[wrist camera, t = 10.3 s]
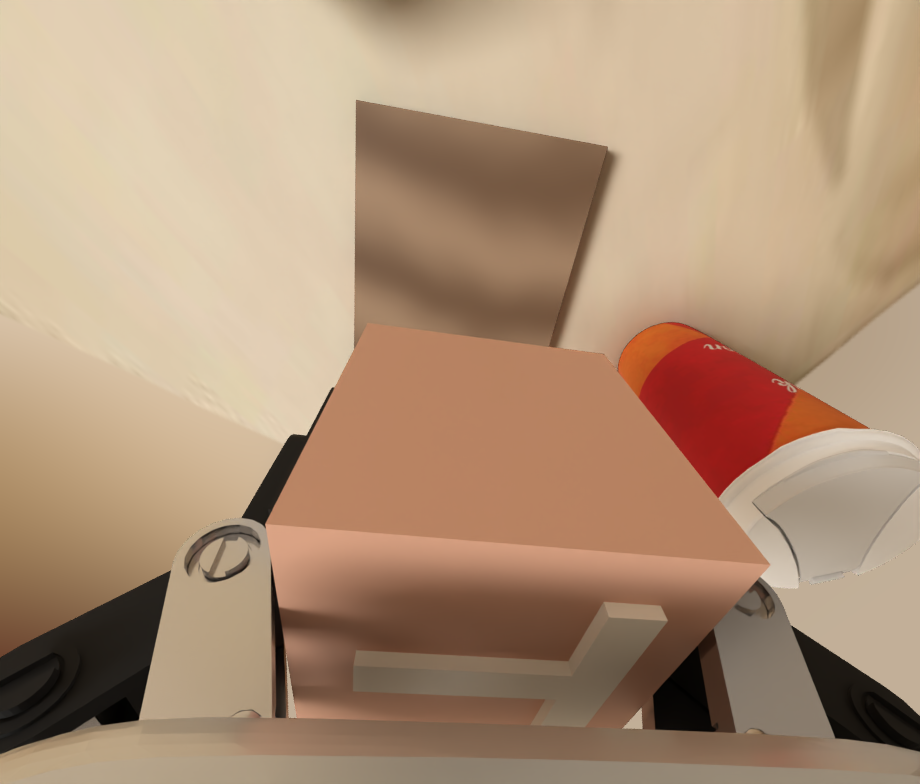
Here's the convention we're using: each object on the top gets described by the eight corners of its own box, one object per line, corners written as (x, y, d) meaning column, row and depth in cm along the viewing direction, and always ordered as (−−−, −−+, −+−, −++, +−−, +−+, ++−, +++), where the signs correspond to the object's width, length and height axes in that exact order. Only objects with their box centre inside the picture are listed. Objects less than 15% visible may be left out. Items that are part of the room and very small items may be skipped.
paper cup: (720, 387, 27) (933, 569, 15) (611, 421, 28) (728, 612, 16) (717, 284, 23) (998, 420, 11) (591, 329, 25) (724, 492, 13)
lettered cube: (367, 323, 9) (257, 540, 4) (603, 354, 10) (781, 579, 5) (362, 497, 12) (296, 752, 7) (543, 514, 13) (607, 761, 8)
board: (360, 102, 18) (356, 99, 17) (601, 147, 19) (607, 146, 19) (357, 388, 26) (353, 396, 26) (526, 407, 28) (528, 415, 27)
